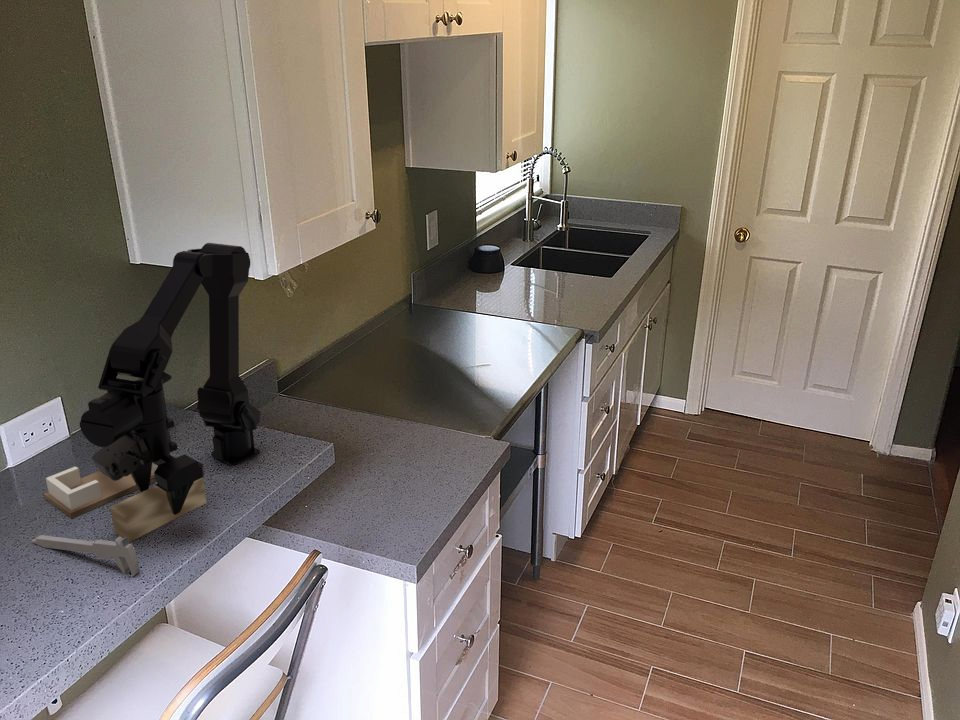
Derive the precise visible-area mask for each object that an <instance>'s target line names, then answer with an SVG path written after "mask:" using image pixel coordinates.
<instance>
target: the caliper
mask: <svg viewBox="0 0 960 720" xmlns="http://www.w3.org/2000/svg"><path fill="white" fill-rule="evenodd" d="M30 543H31V544H36V545H37V546H39V547H43V548H45V549H52V550H53V549H54V550H63V551H71V552H78V553H85V554H86V553H87V554H92V555H93V554H94V555H96V557H97V559H98V560H101V559H103V560H109V559H113V560H114V561H115V563H116V565H117V566H118V568H119V570H120V571H121V573H122V572H123V573H122V574H124V573H126V574H128V573H129V572H130V573H131V576H132V577H134V576H136V575H137V574H138V573H140V564H139V560H138V555H137V552H136V550H135V548H134V545H133V543H130V542H128V539H127V537H125V538H124V539H123V538H122V537H121V536H119V535H118V537H117V538H116V539H114V540H106V539H105V540H104V539H96V540H95V541H93V540H85V539H76V538H69V537H61V536H50V535H42V534H40V535H38V536H37V537H36V538H34V539H31V540H30ZM129 570H130V571H129ZM128 571H129V572H128Z"/></svg>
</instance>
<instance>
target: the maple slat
mask: <svg viewBox="0 0 960 720" xmlns="http://www.w3.org/2000/svg"><path fill="white" fill-rule="evenodd" d="M204 479H205V478H204V477H203V478H200V479H198V480H196V481H194V483H193V485H192V487H191V488H190V490H189V493H188V495H187V497H186V500H185V502H184V504H183V507H182V509H181V512H180V513H178V514H176V515H174V514H173V513H172V510H171V508H170V504H169V501H168V498H167V494H166V491H164V490H162V489H161V488H159V487H157V486H156V485H154V486H152V487H149V489H148V490H145V491H143V492H140V493H136V494H135V495H133V496H130V497H128V498H126V499H123V500H122V501H120V502H118V503H116V504H114V505H111V506H109V509H110V514H111V515H110V516H111V520H112V525H113V530H114V531H113V532H114V533H115V534H116V535H117V536H118V537H119V536H121V537H122V539H124V538H125V537H127V539H128V542H129V543H130V542H133V541H134V540H137V539H138V538H141V537H143V536H144V535H146V534H148V533H150V532H152V531H154V530H156V529H158V528H160V527H163V526H164V525H166V524H168V523H171V522H172V521H174V520H176V519H178V518H180V517H181V516H184V515H186V514H187V513H190V512H192V511H194V510H196V509H197V507H198V508H200V507H201V506H204V505H206V504H207V493H206V489H205V488H206V485H205V480H204ZM191 510H192V511H191ZM189 511H190V512H189Z"/></svg>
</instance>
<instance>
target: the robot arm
mask: <svg viewBox="0 0 960 720" xmlns="http://www.w3.org/2000/svg"><path fill="white" fill-rule="evenodd" d="M250 268H251V257H250V254H249V253H248V252H247V251H246V250H245V247H243V246H241V245H240V246H239V245H231V244H223V243H215V242H214V243H213V242H207V243H205V244H204V245H203V246H201V248H191V249H187V250H182V251H178V252H177V253H176V254H175V255H174V258H173V260H172V267H171V268H170V270H169V272H168V273H167V275H166V276H165V278H164V279H163V281H162V283H161V285H160V287H159V288H158V290H157V291H156V293H155V295H154V297H153V298H152V300H151V301H150V303H149V305H148V306H147V308H146V310H145V311H144V313H143V315H142V316H141V318H139V320H138V321H136V322H135V323H133V324H131V325H129V326H127V327H125V328H124V330H122V331H121V333H120V334H119V335H118V337H117V338H116V339H115V340H114V341H113V342H112V344H111V346H110V348H109V350H108V354H107V358H106V360H105V364H104V366H103V371H102V374H101V376H100V377H101V378H100V380H99V384H98V386H97V387H98V390H102V391H106V393H104V394H102V395H101V396H99V397H96V398H93V399H92V400H90V401H88V403H87V406H88V410H86V411H84V413H83V414H82V415H81V417H80V421H79V427H80V428H79V429H80V431H81V433H82V435H83V436H84V438H86V440H88V441H89V442H90V443H91V444H92V445H94V446H96V447H99V448H101V449H98V451H97V452H94V454H93V455H92V456H91V460H92V461H93V463H94V464H95V466H96V467H97V468H98V469H99V470H98V471H101V472H102V474H104V475H106V476H108V477H109V478H110V479H111V480H113V481H117V480H119V479H121V478H122V477H124V476H128V475H130V474H131V476H132V477H133V479H134V481H135V483H136V485H137V487H138V490H139V492H140V493H141V492H143V491H145V490H148V489H150V485H151V484H150V478H151V469H152V463H154V464H156V465H157V466H158V467H157V469H156V470H155V472H154V476H155V480H156V482H155V483H156V484H155V486H157V487H159V488H161V489H162V490H164V491H166V494H167V498H168V501H169V504H170V508H171V510H172V513H173V514H174V515H176V514H178V513H180V512H181V509H182V507H183V504H184V502H185V500H186V497H187V495H188V493H189V490H190V488H191V487H192V485H193V483H194V481H196V480H198V479H200V478H204V476H205V467H204V463H203V462H201V461H198V460H196V458H195V459H194V458H193V457H191V456H190V455H187V454H181V455H179V456H177V457H175V456H173V455H170V454H171V453H173V452H175V451H177V450H178V443H176V442H174V441H173V440H171V432H170V429H171V428H174V427H175V421H174V419H172V418H170V417H168V410H167V406H166V404H167V403H166V397H165V390H164V384H165V383H168V382H169V381H170V380H171V379H172V375H171V374H169V373H167V372H166V368H167V366H168V363H169V361H170V360H171V359H170V358H171V356H172V353H173V343H172V338H173V334H174V332H175V330H176V329H177V327H178V325H179V323H180V321H181V320H182V317H183V315H184V314H185V313H186V312H187V311H186V310H187V309H188V307H189V305H190V303H192V301H193V298H194V296H195V295H196V293H197V292H198V289H199V288H200V286H202V288H203V289H204V290H205V292H206V295H207V296H208V346H209V347H208V350H209V352H208V357H209V358H208V363H209V365H208V366H209V367H208V369H209V370H208V371H209V375H208V376H209V377H208V378H207V379H206V381H205V382H204V384H203V386H201V387H198V388H197V392H196V395H197V405H196V410H198V415H199V417H200V418H201V420H202V421H203V423H204V426H205V427H208V428H209V427H211V428H213V436H212V437H211V438H212V445H213V450H212V451H211V456H212V457H214V458H216V459H218V460H220V461H222V462H224V463H225V464H227V465H229V466H235V465H237V464H239V463H241V462H244V461H247V460H249V459H251V458H253V457H255V456H257V455H259V454H260V453H261V450H260V449H259V448H256V446H255V440H254V439H255V438H254V431H255V430H257V429H258V424H260V422H261V421H260V420H261V411H260V409H258V408H256V407H255V406H253V405H252V404H251V403H250V398H249V390H248V388H247V386H246V385H245V383H244V381H243V379H242V378H241V376H240V373H239V372H240V369H239V368H240V364H239V357H240V356H239V351H240V346H239V345H240V344H239V343H240V341H239V340H240V338H239V337H240V335H239V334H240V333H239V332H240V331H239V329H240V328H239V327H240V325H239V323H240V321H239V319H240V318H239V317H240V316H239V315H240V311H239V309H240V308H239V305H240V302H239V297H240V294H241V293H242V292H243V290H244V288H245V286H246V285H247V283H248V282H249V275H250ZM118 375H121V376H127V377H134V378H135V379H131V380H130V379H124V378H117V377H118Z"/></svg>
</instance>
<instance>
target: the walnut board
mask: <svg viewBox="0 0 960 720" xmlns="http://www.w3.org/2000/svg"><path fill="white" fill-rule="evenodd" d="M80 478H81V483H82V484H79V485H77V486H74V487H72V488H70V489H71V490H72V489H74V488H77V487H79V486H82V485H84V484H87V483H89V482H91V481H94V480H97V481H98V482H99V486H100V491H101V498H99V499H97V500H94V501H92V502H90V503H88V504H85V505H83V506H81V507H78V508H76V509H74V510H70V509H69V508H68V507H66V506H65V505H64V504H62V503H61V502H60V501H58V500H57V499H55V498H54V497H53V496H51V495H50V494H49V492H48V491H47V492H43V495H44V496H43V497H44V499H45V500H46V501H48V502H49V503H50V504H51V505H53V506H54V507H55V508H57V509H58V510H60V511H61V512H62V513H64V514H65V515H66V516H67V517H69V518H70V519H74V518H76V517H78V516H81V515H83V514H85V513H87V512H90V511H91V510H95V509H97V508H99V507H101V506H103V505H105V504H108V503H110V502H113V501H115V500H117V499H120V498H121V497H124V496H126V495H129V494H131V493H134V492H136V491H138V490H139V489H138V487H137V485H136V483H135V481H134V479H133V477H132V476H131V474H130V475H128V476H124V477H122V478H121V479H119V480H117V481H113V480H111V479H110V478H109V477H108V476H106V475H104V474H102V472H101V471H100V470H98V471H96V472H93V473H90V474H89V475H86V476H83V477H80ZM155 483H157V482H156V480H155V476H154V475H152V476H151V478H150V485H151V484H155Z"/></svg>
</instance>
